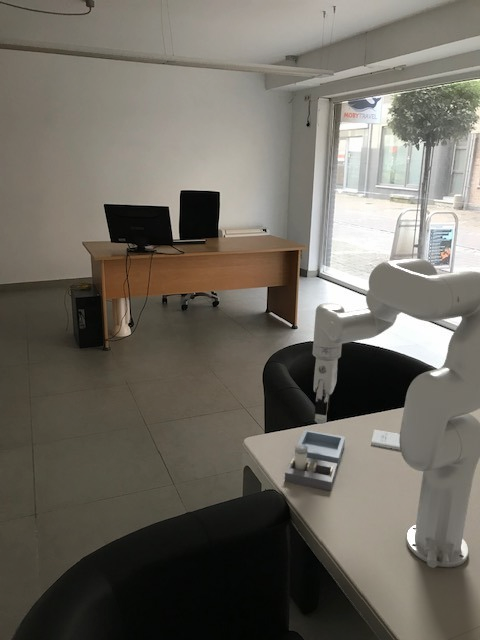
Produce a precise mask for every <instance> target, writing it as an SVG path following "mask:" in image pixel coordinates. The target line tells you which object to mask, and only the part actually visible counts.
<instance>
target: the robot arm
mask: <svg viewBox="0 0 480 640" xmlns="http://www.w3.org/2000/svg"><path fill="white" fill-rule="evenodd" d="M369 274H370V275H369V277H368V290H367V292H366V294H365V295H366V296H365V302H366V306H367V308H364V309H359V310H352V311H351V310H350V311H345V308H344V307H343V306H342V305H340V304H337V303H331V302H327V303H321V304H320V303H319V305H317V307H316V309H315V318H314V329H313V343H312V355H313V357H315V364H314V365H315V366H314V375H313V392H314V393H316V395H315V396H316V397H315V405H314V414H315V415H316V414H319V415H326V414H327V413H328V410H329V409H330V401H331V395H332V394H333V392H334V390H335V387H336V384H337V381H338V380H337V379H338V378H337V377H338V363H339V362H338V360H339V359H340V358H341V357H342V348H343V347H342V346H343V344H347V343H352V342H356V341H357V342H358V341H363V340H368V339H369V340H370V339H372V338H375V337H377V336H379V335H380V334H383V333H384V332H386V330H387V331H388V329H390V328H392V327H393V326H394V324H395V323H396V320H397V318H398V315H400V314H401V313H402V314H405V315H407V316H409V317H411V318H414V319H417V320H420V321H424V322H437V321H443V320H449V319H454V318H459V317H461V321H460V323H459V324H458V326H456V328H455V330H454V332H453V333H452V335H451V337H450V339H449V343H448V346H447V353H446V356H445V359H444V363H443V365H442V366H441V367H439V368H436V369H431V370H428V371H425V372H423V373H421V374H418V375H417V376H416V377H414V379H413V380H412V381H411V382H410V385H409V387H408V389H407V392H406V396H405V401H404V406H403V412H402V418H401V419H402V420H401V424H400V431H399V434H400V437H399V444H400V450H399V451H400V454H401V456H402V458H403V460H404V461H405V463H406V465H408V466H409V467H410V468H411V469H413V470H415V471H418V472H422V479H421V485H420V491H419V500H418V508H417V513H416V523H415V524H414V525H413V526H411V527H410V528H409V529H408V530H407V533H406V538H405V539H406V544H407V547H408V548H409V550H410V551H411V552H412V553H413V555H414V556H416V557H417V558H418V559H420V560H422V561H424V562H425V563H426V564H427V566H428V567H430V568H432V569H434V568H436V567H442V568H454V567H458V566H461V565H462V564H464V563H465V562H466V561H467V559H468V555H469V546H468V543H467V542H466V540H465V539H464V538H463V537H464V532H465V526H466V519H467V513H468V508H469V502H470V496H471V491H472V487H473V480H474V476H475V473H476V468H477V465H478V464H479V460H480V421H479V420H478V418H476V417H475V416H474V415H473V414H471V413H473V412H476V411H478V410H480V272H479V271H473V270H472V271H469V270H467V271H456V272H454V271H453V272H450V273H442V274H439V273H438V271H437V269H436V267H435V266H434V265H433V264H432V263H431V262H430V261H427V260H425V259H422V258H416V257H415V258H405V259H396V260H395V259H393V260H386V261H383V262H381V263H379V264H377V265H376V266H375V267H374V268H373V269H372V270H371V272H370V273H369ZM323 394H325V397H324V396H323ZM327 394H328V395H329V399H328V402H326V401H327ZM327 403H328V408H327ZM327 415H328V414H327Z"/></svg>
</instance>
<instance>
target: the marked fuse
mask: <svg viewBox="0 0 480 640" xmlns="http://www.w3.org/2000/svg"><path fill="white" fill-rule="evenodd" d="M323 396H324V397H325V394H323ZM329 396H330V395H328V394H327V401H326V402H328V399H329ZM327 408H328V403H327ZM327 415H328V414H326V415H319V414H315V415H314V416H315V417H314V422H315V423H317V424H322V425H323V424H326V423H327Z"/></svg>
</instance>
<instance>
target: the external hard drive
mask: <svg viewBox="0 0 480 640" xmlns="http://www.w3.org/2000/svg"><path fill="white" fill-rule="evenodd" d="M399 437H400V433H396V432H392V431H390V432H389V431H385V430H384V431H383V430H381V429H380V430H378V429H373V433H372V438H371V443H370V445H371V446H374V445H375V447H379V446H380V447H381V448H385V447H386V448H385V449H390V448H392V449H391V450H395V449H398V450H397V451H401V450H400V444H399Z"/></svg>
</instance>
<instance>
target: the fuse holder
mask: <svg viewBox="0 0 480 640" xmlns="http://www.w3.org/2000/svg"><path fill="white" fill-rule="evenodd" d="M337 471H338V468H337V463H332V462H327V461H322V460H317V459H312V458H307V461H306V471H302V470H297V469H295V454H293V455H292V457H291V459H290V462H289V463H288V465H287V468H286V470H285V472H284V481H285V482H286V483H287V482H288V483H291V484H295V485H296V484H297V485H301V486H305V487H311V488H317V489H319V490H320V489H322V490H326V491H330V492H331V491H332V490H333V489H332V487H333V486H334V482H335V479H336V476H337Z"/></svg>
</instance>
